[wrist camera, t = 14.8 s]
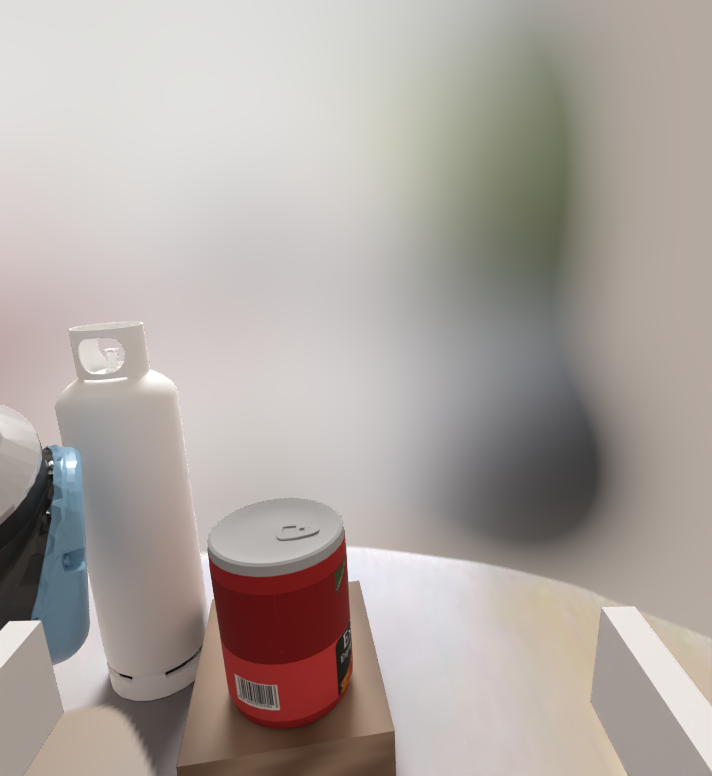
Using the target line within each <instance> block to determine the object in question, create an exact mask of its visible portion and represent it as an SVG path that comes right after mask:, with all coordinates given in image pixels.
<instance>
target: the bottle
mask: <svg viewBox="0 0 712 776" xmlns="http://www.w3.org/2000/svg"><path fill="white" fill-rule="evenodd" d="M68 331H69V336H70V341H71V346H72V352H73V357H74V362H75V368H76V373H77V377H78V379H77V380H75V381H74V382H72V383H71V384H70V385H68V386H67V387H66V388H65V390H64V391H63V392H62V393H61V394H60V395H59V396H58V398H57V402H56V405H55V410H56V415H57V420H58V425H59V430H60V435H61V440H62V444H63V447H73V448H75V449H77V450H78V451H79V452H80V454H81V456H82V472H83V491H84V513H85V532H86V553H87V568H88V573H89V577H90V582H91V587H92V592H93V597H94V602H95V607H96V612H97V617H98V622H99V627H100V632H101V637H102V641H103V646H104V651H105V655H106V658H107V666H108V671H109V676H110V680H111V684H112V687H113V690H114V691H115V692H116V693H118V694H119V695H120V696H121V697H123V698H126V699H129V700H133V701H152V700H156V699H159V698H163V697H167V696H170V695H172V694H174V693H176V692H178V691H180V690H181V689H183V688H185V687H187V686H188V685H189V684H191V683H192V682H193V681H194V680H195V678H196V674H197V669H198V664H199V660H200V655H201V650H202V649H201V650H200V651H199V652H198V654H197V655H196V656H195V657H194V658H193V659H192V660H191V661H189V662H188V663H187V664H186V665H184V666H183V667H182V668H180V669H178V670H176V671H174V672H172V673H170V674H168V675H166V674H165V672H167V671H169V670H171V669H173V668H176V667H178V666H180V665H181V664H183V663H184V662H185V661H187V660H188V659H189V658H191V657H192V656H193V655H194V654H195V653H196V652H197V651H198V649H199V648H200V647H201V646H202V645H203V641H204V637H205V632H206V627H207V623H208V618H209V613H208V606H207V599H206V591H205V584H204V577H203V570H202V563H201V556H200V548H199V542H198V534H197V527H196V520H195V512H194V505H193V498H192V491H191V484H190V476H189V470H188V462H187V455H186V448H185V441H184V434H183V426H182V419H181V412H180V405H179V398H178V390H177V388H176V387H175V385H174V383H173V382H172V381H171V380H169V379H168V378H166V377H165V376H163V375H162V374H160V373H158V372H155V371H153V370H150V365H149V357H148V351H147V344H146V338H145V331H144V325H143V323H142V322H114V323H102V324H93V325H85V326H79V327H74V328H70V329H68ZM99 338H113V339H116V340H117V341H118V342H119V343H121V344H122V347H123V349H124V351H125V357H124V358H125V359H124V361H118V359H117V356H118V354H117V353H116V350H117V349H119V348H113V349H104V351H106V355H107V359H106V358H105V357H104V356H103V355H101V353H100V351H99V349H98V340H99ZM104 369H105V370H104ZM92 371H93V373H91V372H92ZM116 671H117V672H118V673H117V672H116ZM119 673H120V674H123V675H127V676H131V677H133V679H129V678H125V677H122V676H121V675H120V674H119Z"/></svg>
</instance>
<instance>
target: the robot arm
mask: <svg viewBox="0 0 712 776" xmlns="http://www.w3.org/2000/svg"><path fill="white" fill-rule="evenodd" d="M89 625H90V619H89V596H88V574H87V553H86V532H85V513H84V491H83V472H82V456H81V454H80V452H79V451H78V450H77V449H75V448H73V447H59V446H57V445H53V446H47V447H46V448H44V449H43V450H42V447H41V443H40V440H39V438H38V436H37V434H36V432H35V430H34V428H33V426H32V425H31V424H30V422H29V421H28V420H27V419H26V418H25V417H24V416H22V415H21V414H19V413H18V412H16V411H15V410H13V409H11V408H9V407H7V406H5V405H2V404H0V776H24V774H25V772H26V771H27V769H28V768H29V766H30V765H31V763H32V761H33V760H34V758H35V757H36V755H37V754H38V752H39V751H40V749H41V747H42V746H43V744H44V743H45V741H46V739H47V738H48V736H49V735H50V733H51V732H52V730H53V729H54V727H55V725H56V724H57V722H58V721H59V719H60V718H61V716H62V714H63V713H64V711H63V707H62V703H61V699H60V695H59V690H58V686H57V682H56V678H55V674H54V670H53V665H55V664H58V663H60V662H63V661H65V660H67V659H68V658H70V657H71V656H73V655H74V654H75V653H76V652H77V651H78V650H79V649H80V648H81V646H82V645H83V643H84V642H85V640H86V638H87V636H88V632H89ZM590 702H591V704H592V706H593V708H594V710H595V712H596V714H597V715H598V717H599V719H600V721H601V723H602V725H603V727H604V729H605V731H606V733H607V735H608V737H609V739H610V741H611V743H612V745H613V747H614V749H615V751H616V753H617V755H618V757H619V759H620V761H621V763H622V765H623V767H624V769H625V771H626V773H627V775H628V776H712V707H711V705H710V704H709V703H708V701H707V700H706V699H705V698H704V696H703V695H702V694H701V692H700V691H699V690H698V688H697V687H696V686H695V684H694V683H693V682H692V681H691V679H690V678H689V677H688V675H687V674H686V673H685V671H684V670H683V669H682V667H681V666H680V665H679V664H678V662H677V661H676V660H675V658H674V657H673V656H672V654H671V653H670V652H669V651H668V649H667V648H666V647H665V645H664V644H663V643H662V641H661V640H660V639H659V637H658V636H657V635H656V634H655V632H654V631H653V630H652V628H651V627H650V626H649V624H648V623H647V622H646V620H645V619H644V618H643V617H642V615H641V614H640V613H639V611H638V610H637V609H636V607H601V616H600V624H599V633H598V641H597V649H596V658H595V666H594V675H593V683H592V692H591V700H590Z"/></svg>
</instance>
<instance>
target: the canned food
mask: <svg viewBox="0 0 712 776" xmlns="http://www.w3.org/2000/svg"><path fill="white" fill-rule="evenodd" d="M208 557H209V567H210V573H211V580H212V586H213V593H214V599H215V606H216V613H217V619H218V626H219V632H220V639H221V646H222V652H223V659H224V665H225V672H226V678H227V685H228V690H229V694H230V696H231V698H232V700H233V702H234V703H235V705H236V707H237V708H238V710H239V711H240V712H241V713H242V714H243V716H244V717H245V718H247V719H248V720H250V721H252V722H253V723H255V724H258V725H260V726H263V727H268V728H274V729H289V728H294V727H299V726H303V725H306V724H309V723H311V722H314V721H316V720H318V719H319V718H321V717H323V716H325V715H326V714H327V713H328V712H330V711H331V710H332V709H333V708H335V706H336V705H337V704H338V703H339V702H340V701H341V699H342V698H343V696H344V694H345V692H346V691H347V688H348V684H349V681H350V678H351V674H352V671H353V655H352V638H351V621H350V604H349V588H348V571H347V554H346V543H345V530H344V527H343V521H342V518H341V516H340V514H339V513H338V512H337V511H336V510H335V509H333V508H332V507H331V506H328V505H326V504H324V503H321V502H317V501H314V500H308V499H299V498H284V499H274V500H267V501H262V502H258V503H255V504H252V505H248V506H245V507H243V508H240V509H238V510H235V511H234V512H232V513H230V514H228V515H227V516H225V517H224V518H222V519H221V520H220V521H219V522H217V524H215V526H214V527H213V528H212V529H211V531H210V533H209V535H208Z"/></svg>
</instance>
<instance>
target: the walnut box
mask: <svg viewBox="0 0 712 776" xmlns="http://www.w3.org/2000/svg"><path fill="white" fill-rule="evenodd" d="M348 588H349V604H350V621H351V638H352V655H353V671H352V674H351V678H350V681H349V684H348V688H347V691H346V692H345V694H344V696H343V698H342V699H341V701H340V702H339V703H338V704H337V705H336V706H335V708H333V709H332V710H331V711H330V712H328V713H327V714H326V715H325V716H323V717H321V718H319V719H318V720H316V721H314V722H311V723H309V724H306V725H303V726H299V727H294V728H289V729H274V728H268V727H263V726H260V725H258V724H255V723H253V722H252V721H250V720H248V719H247V718H245V717H244V716H243V714H242V713H241V712H240V711H239V710H238V708H237V707H236V705H235V703H234V702H233V700H232V698H231V696H230V694H229V690H228V685H227V678H226V672H225V665H224V659H223V652H222V646H221V639H220V632H219V626H218V619H217V613H216V606H215V599H213V600H212V604H211V609H210V613H209V618H208V623H207V627H206V632H205V637H204V641H203V646H202V650H201V655H200V660H199V664H198V669H197V674H196V678H195V683H194V688H193V692H192V697H191V702H190V706H189V711H188V715H187V720H186V725H185V729H184V734H183V739H182V743H181V748H180V753H179V757H178V762H177V767H176V768H177V774H178V776H396V761H395V733H394V727H393V723H392V718H391V714H390V710H389V706H388V701H387V697H386V693H385V689H384V685H383V680H382V676H381V672H380V668H379V663H378V659H377V655H376V651H375V646H374V642H373V638H372V634H371V629H370V625H369V621H368V617H367V612H366V608H365V604H364V600H363V595H362V591H361V587H360V583H359V581H354V582H348Z"/></svg>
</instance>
